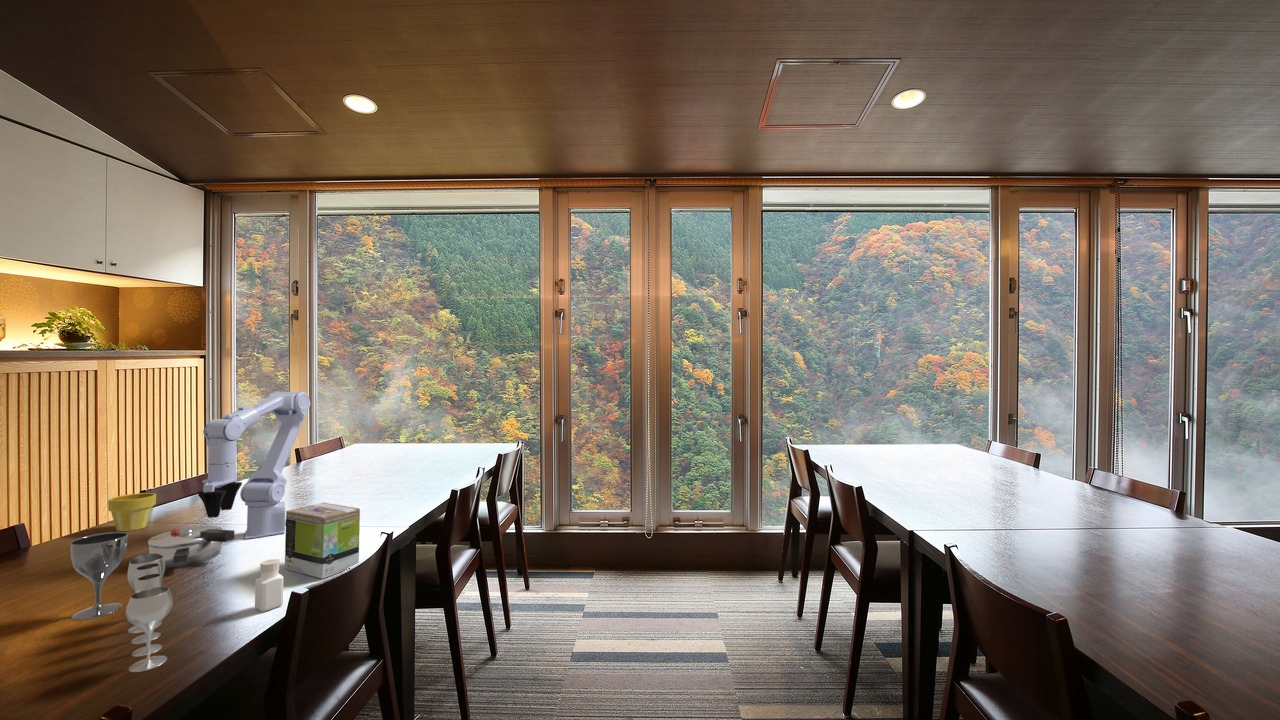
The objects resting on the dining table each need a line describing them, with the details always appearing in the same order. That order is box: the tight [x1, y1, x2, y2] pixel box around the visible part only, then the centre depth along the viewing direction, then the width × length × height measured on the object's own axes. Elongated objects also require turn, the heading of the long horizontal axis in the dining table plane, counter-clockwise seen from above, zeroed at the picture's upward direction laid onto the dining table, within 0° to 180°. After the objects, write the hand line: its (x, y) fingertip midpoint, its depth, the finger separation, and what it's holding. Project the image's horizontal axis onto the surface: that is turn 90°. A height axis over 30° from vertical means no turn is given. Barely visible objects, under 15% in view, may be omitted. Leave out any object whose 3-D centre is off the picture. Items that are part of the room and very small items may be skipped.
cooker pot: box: [148, 541, 222, 569], centre depth 129 cm, size 20×14×5 cm
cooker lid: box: [147, 525, 235, 547], centre depth 131 cm, size 20×14×2 cm
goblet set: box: [125, 553, 174, 673], centre depth 93 cm, size 28×6×13 cm, turn 46°
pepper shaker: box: [254, 558, 284, 613], centre depth 105 cm, size 4×4×10 cm
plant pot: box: [107, 492, 157, 532], centre depth 155 cm, size 10×10×10 cm
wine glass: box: [70, 531, 128, 621], centre depth 103 cm, size 8×8×15 cm
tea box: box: [284, 502, 361, 580], centre depth 126 cm, size 15×10×15 cm
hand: (220, 513), depth 136 cm, fingers open, 7 cm apart
